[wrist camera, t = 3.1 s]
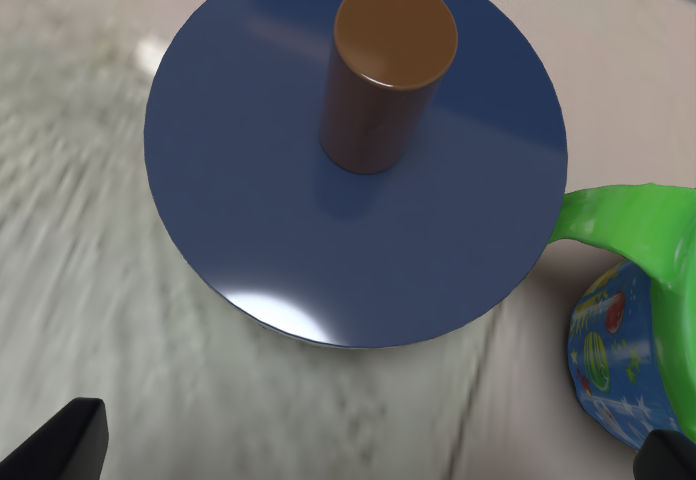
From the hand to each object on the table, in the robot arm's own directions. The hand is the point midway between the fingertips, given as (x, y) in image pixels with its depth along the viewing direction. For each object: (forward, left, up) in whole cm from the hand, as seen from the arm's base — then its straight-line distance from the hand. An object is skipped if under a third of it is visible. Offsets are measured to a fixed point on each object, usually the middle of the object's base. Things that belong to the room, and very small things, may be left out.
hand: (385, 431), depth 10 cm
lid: (+5, -6, -6) cm, 10 cm away
